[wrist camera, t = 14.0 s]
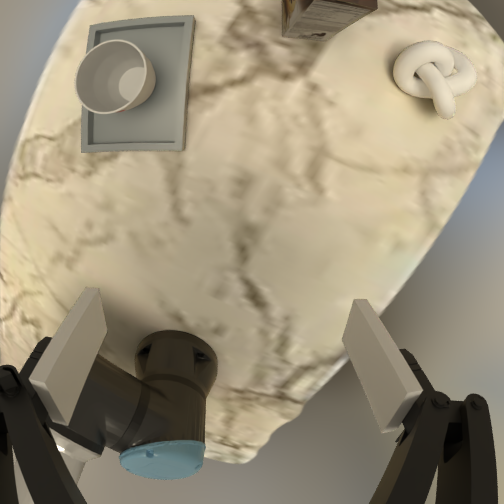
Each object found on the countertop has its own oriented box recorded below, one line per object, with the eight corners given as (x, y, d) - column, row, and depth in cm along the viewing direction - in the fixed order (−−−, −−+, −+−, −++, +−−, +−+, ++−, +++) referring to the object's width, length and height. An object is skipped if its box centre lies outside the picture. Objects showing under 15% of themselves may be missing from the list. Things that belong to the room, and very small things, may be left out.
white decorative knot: (415, 25, 32) (449, 14, 24) (460, 83, 36) (497, 84, 28) (375, 66, 35) (407, 58, 27) (425, 126, 39) (462, 132, 31)
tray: (184, 148, 39) (182, 150, 36) (88, 150, 37) (81, 152, 35) (195, 20, 31) (193, 15, 29) (97, 29, 30) (90, 25, 28)
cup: (97, 94, 34) (61, 91, 25) (132, 45, 31) (105, 27, 22) (141, 124, 36) (114, 128, 27) (179, 75, 34) (162, 62, 25)
